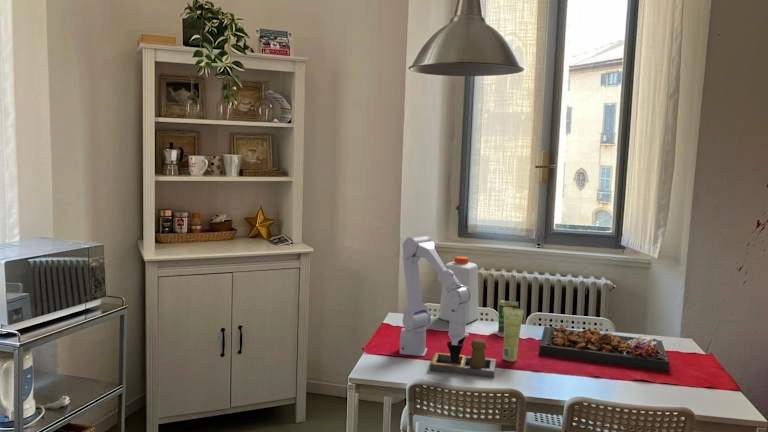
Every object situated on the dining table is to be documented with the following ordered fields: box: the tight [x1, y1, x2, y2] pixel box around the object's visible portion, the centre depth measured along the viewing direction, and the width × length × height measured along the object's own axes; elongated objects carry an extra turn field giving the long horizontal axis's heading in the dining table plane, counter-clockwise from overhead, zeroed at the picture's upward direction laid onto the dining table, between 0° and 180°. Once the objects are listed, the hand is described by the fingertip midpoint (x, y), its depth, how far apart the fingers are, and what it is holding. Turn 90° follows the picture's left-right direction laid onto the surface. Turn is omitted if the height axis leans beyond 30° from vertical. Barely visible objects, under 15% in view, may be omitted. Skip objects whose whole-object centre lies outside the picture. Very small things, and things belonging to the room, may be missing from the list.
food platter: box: [538, 325, 670, 373], centre depth 240 cm, size 45×25×10 cm, turn 72°
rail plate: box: [429, 352, 497, 379], centre depth 220 cm, size 22×12×3 cm, turn 77°
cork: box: [468, 338, 487, 369], centre depth 218 cm, size 6×6×11 cm
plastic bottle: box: [438, 255, 479, 325], centre depth 277 cm, size 15×15×28 cm
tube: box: [502, 307, 525, 362], centre depth 229 cm, size 6×5×20 cm
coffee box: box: [497, 299, 520, 333], centre depth 261 cm, size 8×3×13 cm, turn 70°
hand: (455, 358), depth 220 cm, fingers open, 7 cm apart
